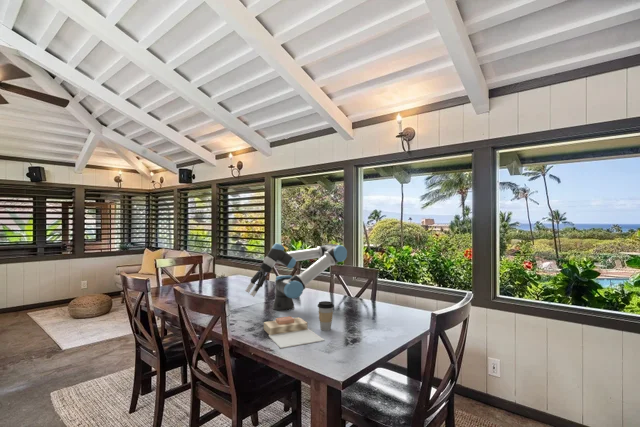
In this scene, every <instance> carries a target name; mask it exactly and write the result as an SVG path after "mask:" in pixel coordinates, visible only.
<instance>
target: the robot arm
mask: <svg viewBox="0 0 640 427" xmlns="http://www.w3.org/2000/svg"><path fill="white" fill-rule="evenodd" d="M347 257H348V250H347V248H346V247H345V246H344V245H341V244H335V243H334V244H333V243H330V244H324V245H323V244H322V245H318V246H316V247H313V248H307V249H305V248H304V249H299V250H291V251H285V246H283V245H282V244H281V243H278V242H275V243H274V244H273V245H272V247H271V248H270V250H269V252H268V253H267V255H266V256H265V257H264V259H263V262H262V263H261V264H260V265H259V268H260V269H258V270H257V272H256V273H255V274H254V276H253V277H252V278H251V279H250V282H249V283H248V285H247V288H245V290H244V291H245V292H246V293H248V294H249V293H250V292H251V293H250V296H252V297H254V298H255V296H256V294H257V293H258V292H259V291H260V288H263V286H264V283H265V281H266V279H267V276H268V275H269V273H271V271H272V270H273V268H274V266H275V265H276V264H280V265H282V266H285V267H286V268H288V269H293V268H294V267H295V266H296V263H297V262H298V261H300V262H301V261H306V260H313V259H317V260H316V261H315V262H313V263H312V264H310V266H308V267H307V268H306V269H305V270H303V271H302V272H300V273H299V274H294V275H289V274H288V275H277V276H276V277H275V287H274V289H275V297H274V301H273V303H272V309H273V310H275V311H279V312H280V311H281V312H287V311H291V310H294V309H295V302H294V299H298V298H299V297H301V295H303V292H304V290H305V289H306V288H307V287H306V286H307V285H308V284H309V283H310V282H312V280H314V279H316V278H317V277H318V276H320V275H321V274H322V273H323V272H324V271H326V269H327V270H328V268H329V267H331V266H336V265H337V264H338V263H339V262H344V261H345V260H346V259H347ZM256 282H257V283H256ZM254 285H255V286H254ZM253 287H254V288H253Z"/></svg>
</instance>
